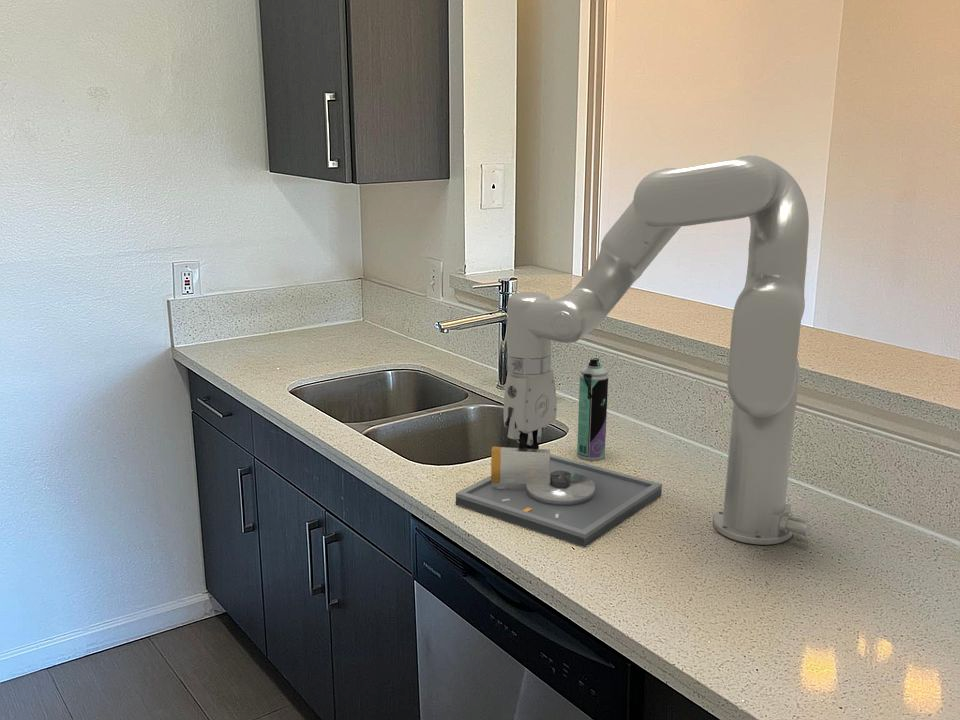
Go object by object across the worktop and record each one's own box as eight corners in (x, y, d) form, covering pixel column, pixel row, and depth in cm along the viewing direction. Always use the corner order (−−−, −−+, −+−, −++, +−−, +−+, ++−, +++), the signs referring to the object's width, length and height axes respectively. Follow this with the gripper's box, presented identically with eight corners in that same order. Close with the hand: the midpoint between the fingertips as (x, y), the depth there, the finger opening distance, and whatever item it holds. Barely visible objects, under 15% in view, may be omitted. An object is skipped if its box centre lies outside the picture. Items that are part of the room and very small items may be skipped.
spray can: (603, 462, 179) (608, 363, 174) (575, 459, 180) (579, 361, 175) (605, 452, 184) (610, 356, 179) (578, 450, 185) (581, 354, 180)
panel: (661, 495, 163) (662, 483, 163) (584, 547, 144) (585, 534, 143) (540, 462, 179) (540, 451, 178) (455, 504, 159) (455, 492, 158)
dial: (594, 480, 166) (596, 441, 164) (594, 507, 154) (596, 466, 152) (495, 475, 168) (495, 436, 166) (487, 501, 156) (488, 460, 155)
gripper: (520, 376, 151) (520, 481, 156) (571, 358, 162) (570, 456, 167) (485, 369, 156) (485, 470, 160) (537, 352, 167) (536, 447, 171)
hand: (528, 463), depth 164 cm, fingers closed
